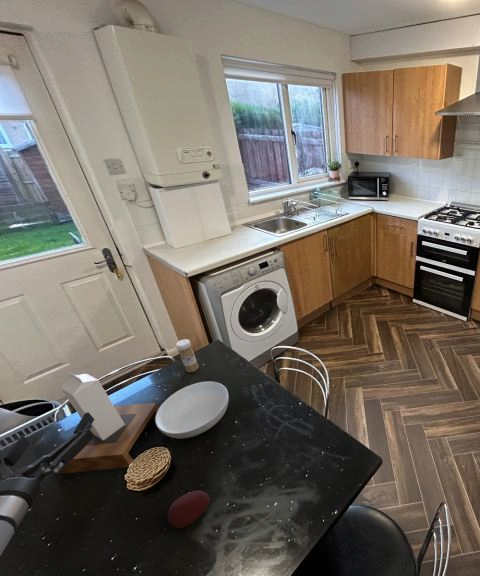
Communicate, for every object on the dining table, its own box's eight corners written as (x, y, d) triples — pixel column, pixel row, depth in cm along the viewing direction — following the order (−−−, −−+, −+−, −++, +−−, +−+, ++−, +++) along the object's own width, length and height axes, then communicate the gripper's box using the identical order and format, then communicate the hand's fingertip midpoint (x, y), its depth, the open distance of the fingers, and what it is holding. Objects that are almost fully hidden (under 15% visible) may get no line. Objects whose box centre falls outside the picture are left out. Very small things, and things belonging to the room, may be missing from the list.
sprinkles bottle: (188, 374, 122) (178, 348, 115) (184, 369, 124) (173, 342, 118) (201, 368, 125) (191, 342, 118) (196, 363, 127) (186, 337, 121)
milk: (113, 417, 97) (81, 364, 87) (125, 424, 95) (94, 370, 84) (91, 433, 92) (53, 379, 82) (103, 441, 90) (66, 386, 79)
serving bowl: (242, 395, 113) (238, 381, 110) (214, 448, 95) (208, 434, 91) (186, 393, 113) (180, 380, 110) (146, 447, 95) (138, 432, 92)
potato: (175, 506, 81) (167, 493, 78) (213, 493, 83) (207, 481, 81) (169, 538, 75) (160, 526, 72) (210, 523, 77) (203, 511, 74)
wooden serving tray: (62, 473, 88) (51, 460, 85) (104, 419, 103) (96, 407, 100) (130, 466, 90) (122, 454, 87) (162, 414, 105) (156, 402, 102)
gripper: (-65, 553, 59) (7, 460, 77) (89, 487, 66) (122, 416, 84) (-99, 532, 55) (-15, 440, 73) (67, 465, 62) (106, 396, 81)
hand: (58, 427), depth 79 cm, fingers open, 13 cm apart
